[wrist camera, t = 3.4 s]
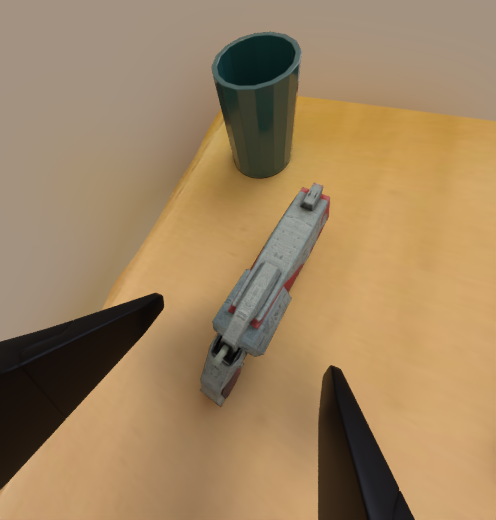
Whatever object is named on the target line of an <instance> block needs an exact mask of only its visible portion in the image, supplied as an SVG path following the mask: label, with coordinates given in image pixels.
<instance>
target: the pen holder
mask: <svg viewBox="0 0 496 520" xmlns="http://www.w3.org/2000/svg"><path fill="white" fill-rule="evenodd" d="M301 54H302V51H301V49H300V47H299V45H298V42H297V41H296V40H294V39H293V38H291V37H289V36H288V35H286V34H280V33H275V32H263V33H254V34H251V35H248V36H244V37H241V38H239V39H237V40H235V41H233V42H232V43H230V44H228V45H227V46H225V47H224V48H223V49H222V50H221V51H220V52H219V53H218V54H217V55H216V57H215V59H214V62H213V64H212V73H213V78H214V82H215V86H216V90H217V93H218V97H219V101H220V105H221V109H222V113H223V117H224V121H225V125H226V129H227V133H228V137H229V141H230V145H231V149H232V153H233V157H234V161H235V164H236V166H237V168H238V169H239V170H240V171H241V172H242V173H243V174H245V175H247V176H249V177H253V178H266V177H270V176H273V175H275V174H277V173H279V172H280V171H282V170H283V169H284V168H285V167H286V165H287V164H288V162H289V160H290V157H291V150H292V141H293V132H294V122H295V112H296V102H297V92H298V83H299V73H300V63H301Z"/></svg>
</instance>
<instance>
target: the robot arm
mask: <svg viewBox="0 0 496 520" xmlns="http://www.w3.org/2000/svg"><path fill="white" fill-rule="evenodd" d="M163 308H164V300H163V296H162V295H161V294H158V293H153V294H150V295H147V296H144V297H141V298H138V299H135V300H132V301H129V302H126V303H123V304H120V305H117V306H114V307H111V308H108V309H105V310H102V311H99V312H96V313H93V314H90V315H87V316H84V317H81V318H78V319H75V320H74V321H73V320H72V321H69V322H66V323H63V324H60V325H56V326H53V327H50V328H47V329H44V330H40V331H37V332H33V333H30V334H26V335H23V336H19V337H15V338H12V339H8V340H5V341H1V342H0V490H1V489H2V488H3V487H4V486H5V485H6V484H7V483H8V482H9V481H10V479H11V478H12V477H13V476H14V475H15V474H16V473H17V472H18V471H19V470H20V469H21V467H22V466H23V465H24V464H25V463H26V462H27V461H28V460H29V459H30V458H31V457H32V456H33V454H34V453H35V452H36V451H37V450H38V449H39V448H40V447H41V446H42V445H43V444H44V442H45V441H46V440H47V439H48V438H49V437H50V436H51V435H52V434H53V433H54V432H55V431H56V429H57V428H58V427H59V426H60V425H61V424H62V423H63V422H64V421H65V420H66V418H67V417H68V416H69V415H70V414H71V413H72V412H73V411H74V410H75V409H76V408H77V406H78V405H79V404H80V403H81V402H82V401H83V400H84V399H85V398H86V397H87V396H88V394H89V393H90V392H91V391H92V390H93V389H94V388H95V387H96V386H97V385H98V384H99V383H100V381H101V380H102V379H103V378H104V377H105V376H106V375H107V374H108V373H109V372H110V371H111V369H112V368H113V367H114V366H115V365H116V364H117V363H118V362H119V361H120V360H121V359H122V358H123V356H124V355H125V354H126V353H127V352H128V351H129V350H130V349H131V348H132V347H133V346H134V344H135V343H136V342H137V341H138V340H139V339H140V338H141V337H142V336H143V335H144V333H145V332H146V331H147V330H148V328H149V327H150V326H151V325H152V323H153V322H154V321H155V319H156V318H157V317H158V315H159V314H160V313H161V311H162V310H163ZM318 520H415V519H414V517H413V515H412V513H411V511H410V509H409V507H408V505H407V503H406V501H405V499H404V497H403V495H402V493H401V491H399V487H398V485H397V483H396V481H395V479H394V477H393V474H392V472H391V470H390V468H389V466H388V464H387V462H386V460H385V458H384V456H383V454H382V452H381V450H380V448H379V446H378V444H377V442H376V440H375V438H374V436H373V434H372V432H371V430H370V428H369V425H368V423H367V421H366V419H365V417H364V415H363V413H362V411H361V409H360V407H359V405H358V403H357V401H356V399H355V397H354V395H353V393H352V391H351V389H350V387H349V385H348V383H347V381H346V379H345V377H344V374H343V372H342V371H341V369H340V368H338V367H335V366H333V365H330V366H329V368H328V369H327V371H326V372H325V374H324V376H323V380H322V389H321V398H320V408H319V421H318Z"/></svg>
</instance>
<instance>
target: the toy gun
mask: <svg viewBox="0 0 496 520" xmlns="http://www.w3.org/2000/svg"><path fill="white" fill-rule="evenodd" d="M322 190H323V185H320V184H317V183H313V185H312V187H311V188H310V190H309V189H306V188H302V189H301V190H300V192H299V193H298V195H297V196H296V197H295V199H294V200H293V201H292V203H291V204H290V206H289V207H288V209H287V210H286V212H285V214H284V215H283V217H282V218H281V220H280V221H279V223H278V224H277V226H276V227H275V229H274V230H273V232H272V233H271V235H270V237H269V238H268V240H267V242H266V244H265V245H264V247H263V249H262V250H261V252H260V254H259V255H258V257H257V259H256V260H255V262H254V264H253V266H252V267H251V269H250V270H249V269H246V270H245V272H244V273H243V275H242V276H241V278H240V279H239V281H238V283H237V284H236V286H235V287H234V289H233V290H232V292H231V293H230V295H229V296H228V298H227V299H226V301H225V302H224V304H223V305H222V307H221V309H220V310H219V312H218V313H217V315H216V316H215V318H214V319H213V321H212V322H213V328H214V330H215V331H216V332H218V334H217V335H216V337H215V339H214V340H213V342H212V343H211V345H210V348H209V352H208V355H207V359H206V363H205V366H204V370H203V373H202V376H201V389H200V391H201V392H203V393H204V394H205V395H206V396H208V397H209V398H210V399H211V400H213V401H214V402H215V403H216V404H218V405H219V406H220V407H221V406H222V404H223V402H224V400H225V399H226V398H227V397H228V395H229V394H230V392H231V390H232V388H233V387H234V385H235V383H236V381H237V378H238V376H239V374H240V371H241V368H242V366H243V364H244V363H243V360H244V359H245V357H246V355H247V353H249V354H251V355H253V356H254V357H256V356H260V355H264V353H265V351H266V349H267V347H268V345H269V343H270V341H271V339H272V337H273V335H274V333H275V331H276V328H277V326H278V324H279V322H280V320H281V318H282V316H283V314H284V312H285V310H286V308H287V306H288V304H289V302H290V300H291V296H290V295H289V293H288V292H289V290H290V288H291V286H292V285H293V283H294V281H295V279H296V277H297V276H298V274H299V272H300V270H301V269H302V267H303V265H304V263H305V261H306V260H307V258H308V256H309V254H310V253H311V251H312V249H313V247H314V245H315V243H316V241H317V239H318V237H319V235H320V233H321V231H322V229H323V227H324V225H325V223H326V221H327V219H328V217H329V206H330V197H329V196H326V195H323V194H322Z"/></svg>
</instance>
